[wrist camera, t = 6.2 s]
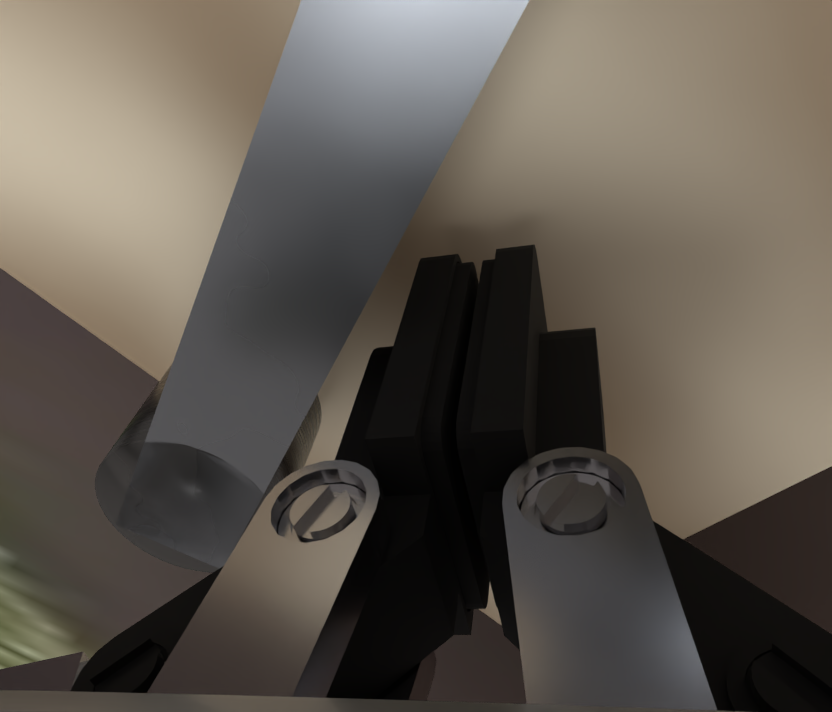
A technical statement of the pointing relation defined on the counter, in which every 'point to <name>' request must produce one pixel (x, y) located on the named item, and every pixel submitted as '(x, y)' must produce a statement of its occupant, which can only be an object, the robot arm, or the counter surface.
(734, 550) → the counter surface
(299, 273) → the lever
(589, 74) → the wooden cutting board
